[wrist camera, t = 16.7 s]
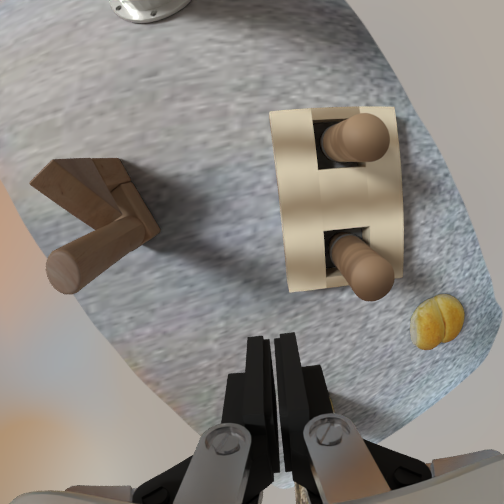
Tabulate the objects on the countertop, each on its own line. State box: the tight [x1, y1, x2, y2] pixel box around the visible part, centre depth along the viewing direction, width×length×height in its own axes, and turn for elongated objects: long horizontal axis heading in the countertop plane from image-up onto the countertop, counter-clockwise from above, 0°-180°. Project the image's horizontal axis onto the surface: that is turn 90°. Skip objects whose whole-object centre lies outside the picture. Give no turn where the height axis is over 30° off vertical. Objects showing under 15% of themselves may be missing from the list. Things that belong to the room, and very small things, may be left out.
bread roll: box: [410, 294, 464, 350], centre depth 38 cm, size 8×9×4 cm
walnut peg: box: [328, 232, 395, 301], centre depth 32 cm, size 4×4×12 cm
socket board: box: [269, 107, 404, 292], centre depth 34 cm, size 20×14×3 cm
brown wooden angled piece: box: [29, 158, 161, 294], centre depth 28 cm, size 4×11×18 cm, turn 30°
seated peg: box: [320, 113, 390, 163], centre depth 29 cm, size 4×4×12 cm
